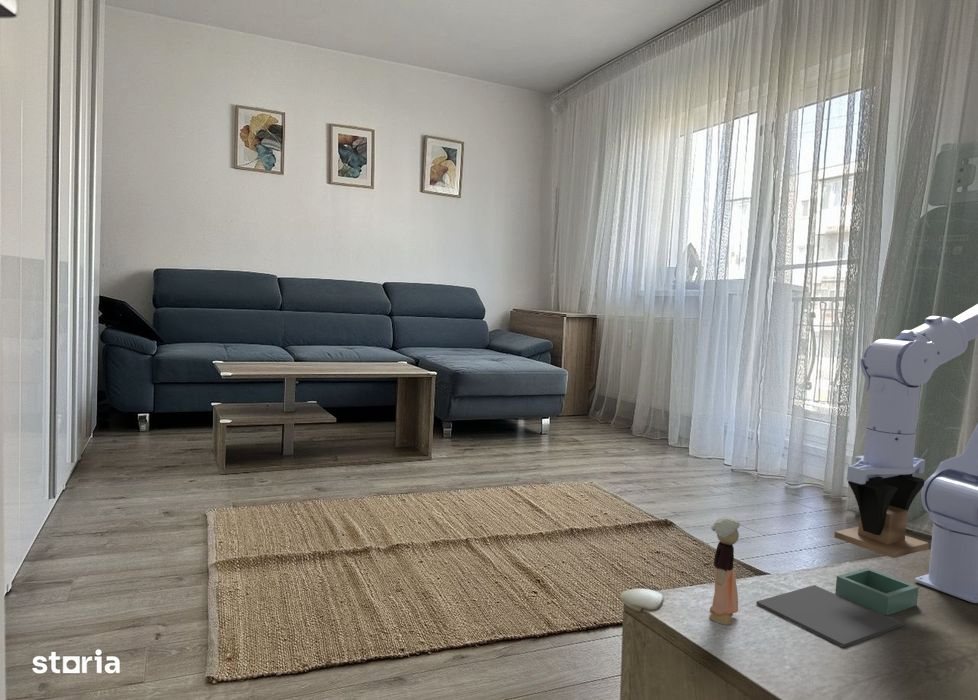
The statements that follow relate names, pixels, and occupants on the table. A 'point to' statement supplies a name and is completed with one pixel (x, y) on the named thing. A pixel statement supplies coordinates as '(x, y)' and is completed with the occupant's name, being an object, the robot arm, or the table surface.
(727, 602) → the grandmother figurine
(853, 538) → the lid
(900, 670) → the table surface
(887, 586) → the green storage tray
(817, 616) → the mat
